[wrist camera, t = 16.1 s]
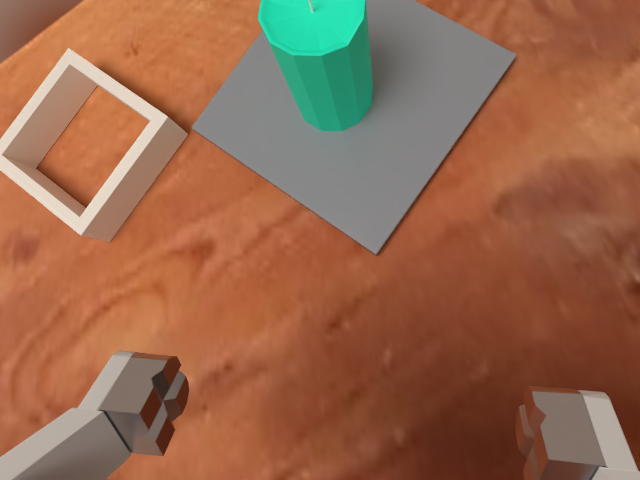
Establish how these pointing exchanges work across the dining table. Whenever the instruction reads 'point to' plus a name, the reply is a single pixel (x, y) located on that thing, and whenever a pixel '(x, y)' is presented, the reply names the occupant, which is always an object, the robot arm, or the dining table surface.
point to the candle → (322, 57)
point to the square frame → (51, 120)
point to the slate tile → (373, 130)
